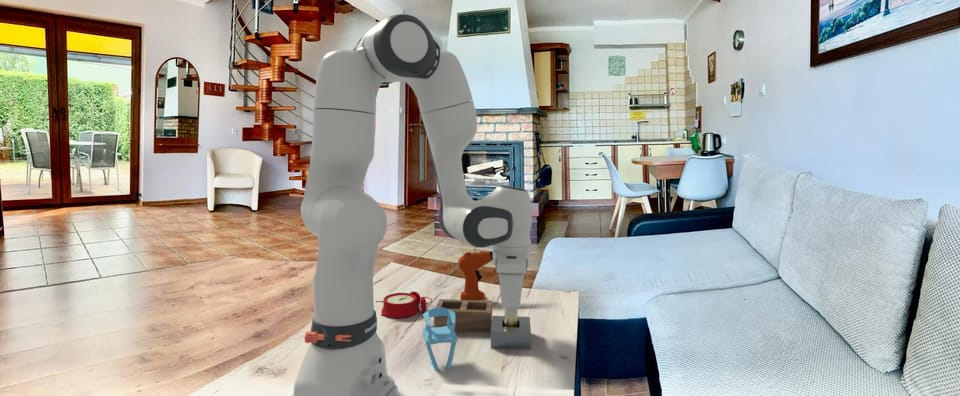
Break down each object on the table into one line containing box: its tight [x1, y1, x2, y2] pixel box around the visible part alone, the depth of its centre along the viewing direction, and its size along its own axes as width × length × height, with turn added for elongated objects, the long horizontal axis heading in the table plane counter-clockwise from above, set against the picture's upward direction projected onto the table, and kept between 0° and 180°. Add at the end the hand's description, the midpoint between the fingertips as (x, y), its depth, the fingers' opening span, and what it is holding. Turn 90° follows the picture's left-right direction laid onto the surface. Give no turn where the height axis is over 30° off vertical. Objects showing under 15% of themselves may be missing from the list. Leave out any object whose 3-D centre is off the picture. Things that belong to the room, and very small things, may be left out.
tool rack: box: [433, 298, 493, 333], centre depth 114 cm, size 8×14×6 cm, turn 85°
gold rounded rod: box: [504, 308, 519, 328], centre depth 105 cm, size 3×3×10 cm
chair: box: [422, 306, 458, 371], centre depth 95 cm, size 8×8×12 cm
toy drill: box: [457, 250, 493, 301], centre depth 137 cm, size 5×19×15 cm, turn 115°
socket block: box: [490, 315, 532, 351], centre depth 106 cm, size 9×9×5 cm
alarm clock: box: [375, 291, 433, 319], centre depth 127 cm, size 10×6×15 cm
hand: (511, 313), depth 105 cm, fingers closed on gold rounded rod, 3 cm apart
